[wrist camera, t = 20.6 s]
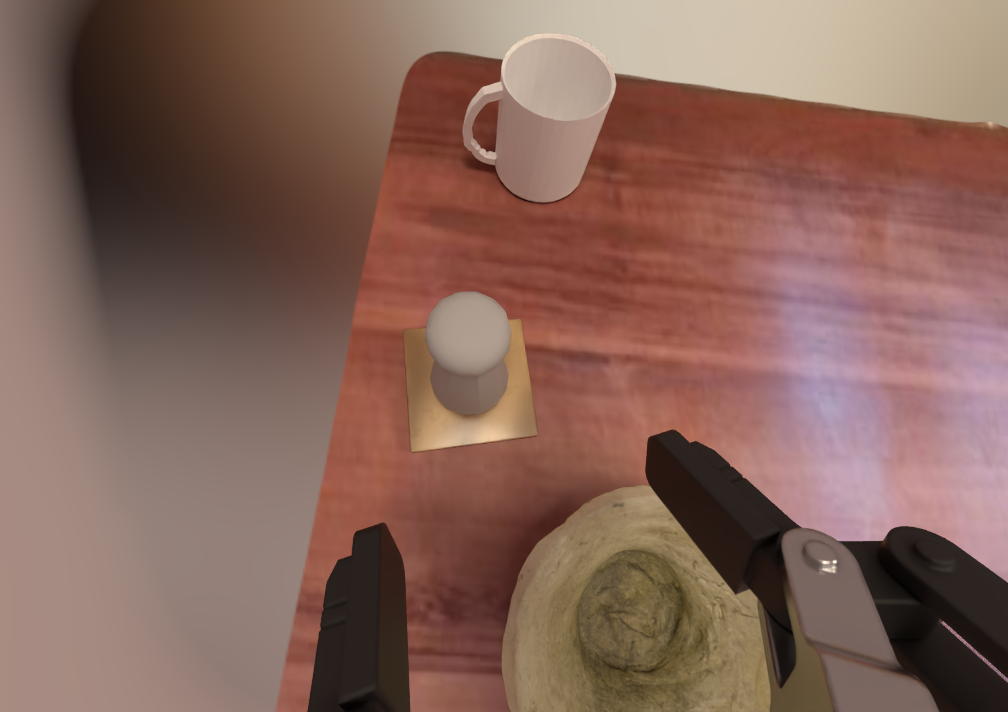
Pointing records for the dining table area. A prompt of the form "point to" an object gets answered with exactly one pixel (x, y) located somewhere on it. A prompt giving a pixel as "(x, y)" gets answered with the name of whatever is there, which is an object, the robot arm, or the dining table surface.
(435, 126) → the dining table surface
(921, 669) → the robot arm
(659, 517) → the bowl
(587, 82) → the mug
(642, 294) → the dining table surface
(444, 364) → the salt shaker
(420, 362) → the wooden square board
